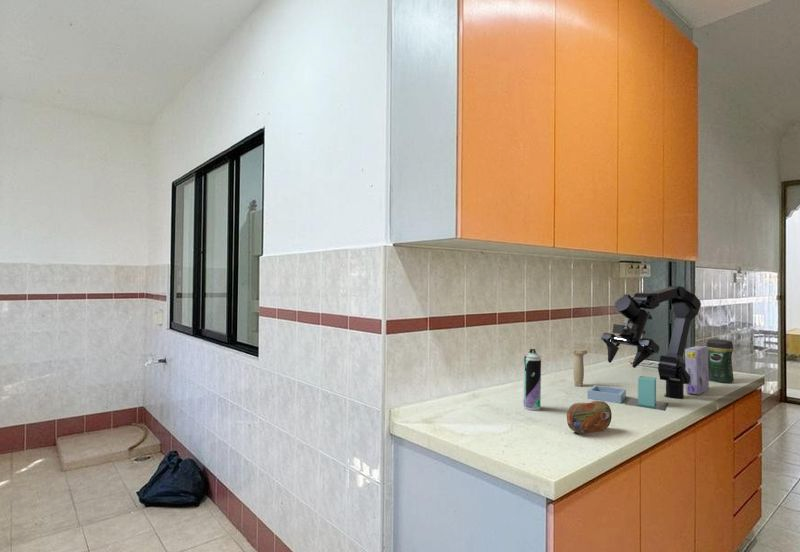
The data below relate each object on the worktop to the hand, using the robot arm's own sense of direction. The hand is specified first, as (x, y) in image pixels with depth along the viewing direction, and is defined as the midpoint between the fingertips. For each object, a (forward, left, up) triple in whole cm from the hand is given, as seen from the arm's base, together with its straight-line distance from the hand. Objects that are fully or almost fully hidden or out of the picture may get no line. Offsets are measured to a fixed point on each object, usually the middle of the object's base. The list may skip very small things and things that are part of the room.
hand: (621, 364), depth 157 cm
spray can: (+21, -24, -15) cm, 35 cm away
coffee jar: (-76, +28, -15) cm, 82 cm away
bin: (-8, -6, -14) cm, 17 cm away
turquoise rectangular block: (-8, +7, -14) cm, 17 cm away
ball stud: (-8, +7, -14) cm, 18 cm away
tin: (+34, -3, -15) cm, 37 cm away
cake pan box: (-46, +21, -15) cm, 53 cm away
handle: (-25, -20, -15) cm, 35 cm away
